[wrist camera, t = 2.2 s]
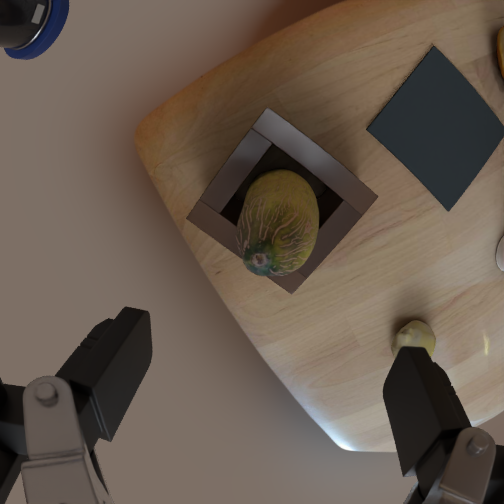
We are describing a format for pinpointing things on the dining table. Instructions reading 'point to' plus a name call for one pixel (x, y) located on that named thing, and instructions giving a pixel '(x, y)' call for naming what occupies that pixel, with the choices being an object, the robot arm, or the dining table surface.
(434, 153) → the mat
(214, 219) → the holder
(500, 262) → the cup
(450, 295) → the dining table surface
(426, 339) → the fruit
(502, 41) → the bread
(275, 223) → the vegetable
